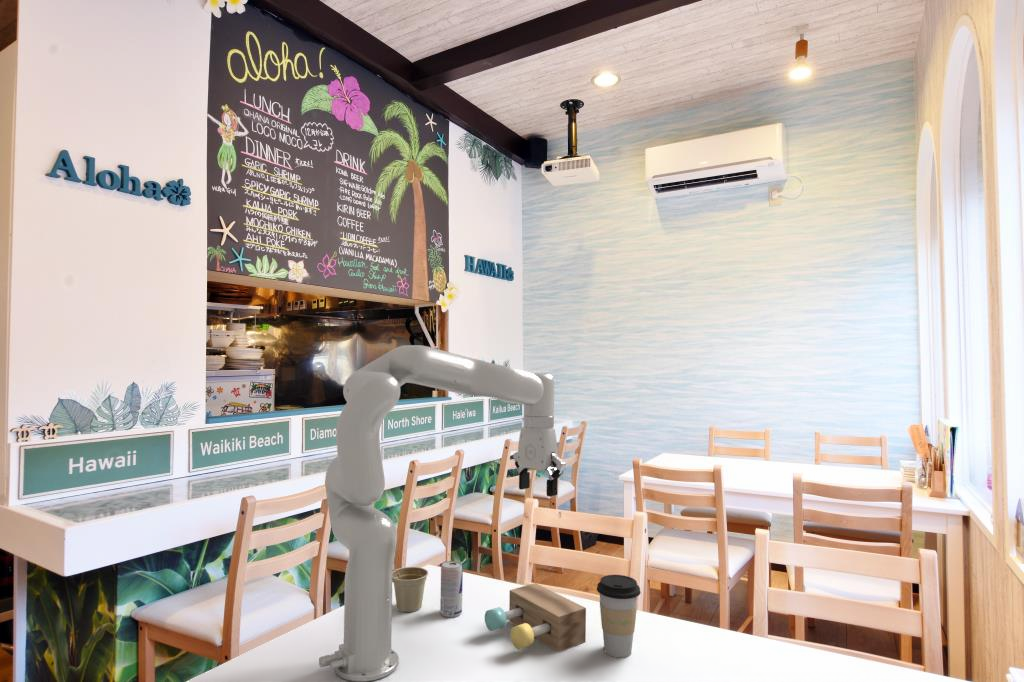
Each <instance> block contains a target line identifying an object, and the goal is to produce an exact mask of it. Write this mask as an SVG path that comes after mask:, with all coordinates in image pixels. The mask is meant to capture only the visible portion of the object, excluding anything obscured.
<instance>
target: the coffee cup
mask: <svg viewBox="0 0 1024 682" xmlns="http://www.w3.org/2000/svg"><path fill="white" fill-rule="evenodd" d="M596 591H597V592H598V593H599V608H600V619H601V620H600V622H601V629H602V637H603V646H604V651H605V653H606V654H607V655H608V656H611V657H615V658H627V657H629V656H631V655H632V649H633V641H634V640H633V639H634V633H635V630H636V629H635V628H636V618H637V609H638V604H637V603H638V597H639V596H640V595H641V594H642V593H641V587H640V586H639V585H638V582H637V580H636V579H635V578H633V577H630V576H629V575H622V574H608V575H604V576H601V578H600V581H599V582H598V583H597V586H596Z"/></svg>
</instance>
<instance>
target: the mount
mask: <svg viewBox="0 0 1024 682" xmlns="http://www.w3.org/2000/svg"><path fill="white" fill-rule="evenodd" d="M508 602H509V606H508V607H509V608H508V609H509V610H513V609H516V608H519V607H522V608H523V615H522V616H518V617H515V618H512V619H509V620H508V622H509V623H511V624H513V625H514V626H518V625H521V624H524V623H527V624H529V625H530V626H531V628H533V627H536V626H539V625H542V624H545V623H550V624H551V631H549V632H546V633H543V634H540V635H538V636H535V637H534V639H537V640H538V641H539V642H542V643H544V644H545V645H546V646H549V647H550V648H551V649H553V650H554V651H556V652H558V653H559V652H563V651H565V650H568V649H570V648H573V647H576V646H578V645H581V644H584V643H586V640H587V639H586V636H587V635H586V632H587V631H586V630H587V624H586V623H587V622H586V621H587V608H586V607H585V606H583V605H580V604H578V603H576V602H574V601H572V600H570V599H569V598H566V597H565V596H563V595H560V594H558V593H557V592H554V591H553V590H550V589H548V588H547V587H545V586H543V585H540V584H538V583H537V582H534V583H531V584H527V585H523V586H520V587H519V586H518V587H516V588H512V589H509V601H508ZM509 610H508V611H509Z"/></svg>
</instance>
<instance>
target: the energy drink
mask: <svg viewBox="0 0 1024 682" xmlns="http://www.w3.org/2000/svg"><path fill="white" fill-rule="evenodd" d="M463 570H464V568H463V563H462V562H460V561H455V560H448V561H445V562H443V563H442V564H441V567H440V599H439V600H440V607H439V608H440V609H439V610H440V615H441V616H442V617H444V618H450V619H451V618H458V617H459V616H461V614H462V613H463V579H464V578H463V574H464V572H463Z"/></svg>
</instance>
